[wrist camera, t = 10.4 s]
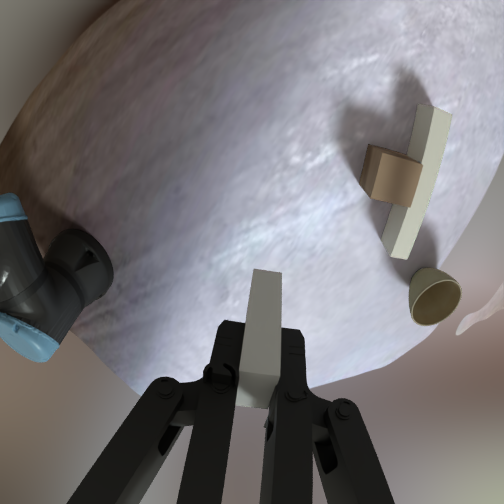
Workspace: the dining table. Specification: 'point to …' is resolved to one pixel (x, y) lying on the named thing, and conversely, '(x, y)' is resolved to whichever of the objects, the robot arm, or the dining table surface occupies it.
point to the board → (430, 156)
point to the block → (390, 176)
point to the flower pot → (433, 296)
